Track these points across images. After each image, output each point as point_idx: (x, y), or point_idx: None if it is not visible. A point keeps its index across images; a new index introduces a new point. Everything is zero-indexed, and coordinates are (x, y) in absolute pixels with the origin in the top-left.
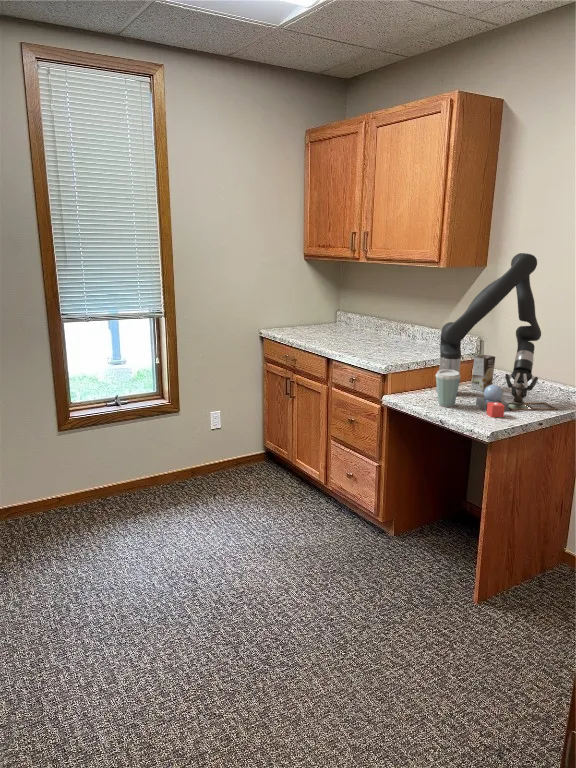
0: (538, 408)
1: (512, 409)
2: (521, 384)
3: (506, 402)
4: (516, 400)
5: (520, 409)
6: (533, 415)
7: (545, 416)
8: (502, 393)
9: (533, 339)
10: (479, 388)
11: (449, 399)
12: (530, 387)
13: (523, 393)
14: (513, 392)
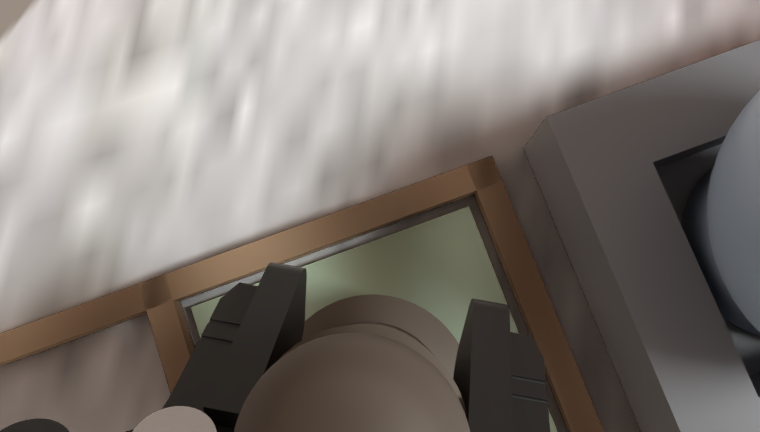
0: (86, 332)
1: (468, 164)
2: (310, 395)
3: (583, 192)
4: (409, 333)
5: (354, 206)
6: (217, 27)
7: (74, 30)
8: (749, 152)
9: None
10: None
11: None
12: (55, 430)
13: (284, 287)
14: (500, 327)
